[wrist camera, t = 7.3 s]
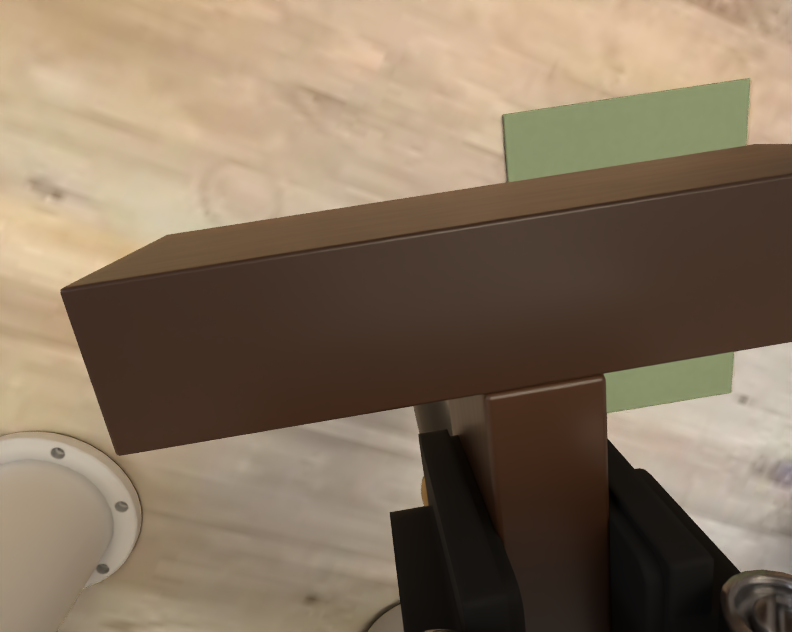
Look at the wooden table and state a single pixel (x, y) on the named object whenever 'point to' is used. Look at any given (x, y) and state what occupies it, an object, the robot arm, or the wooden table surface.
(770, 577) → the robot arm
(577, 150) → the felt mat
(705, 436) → the wooden table surface
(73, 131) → the wooden table surface
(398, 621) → the cylinder vase
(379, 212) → the hanger
